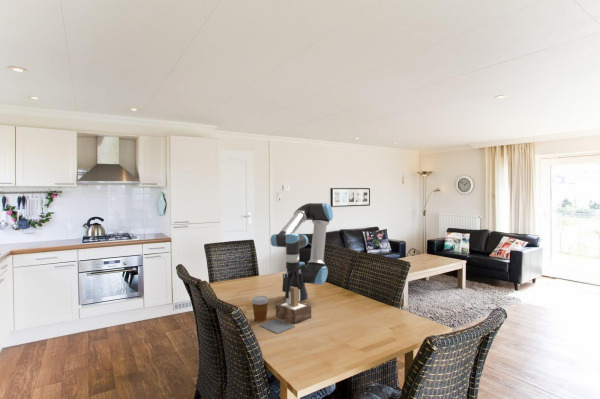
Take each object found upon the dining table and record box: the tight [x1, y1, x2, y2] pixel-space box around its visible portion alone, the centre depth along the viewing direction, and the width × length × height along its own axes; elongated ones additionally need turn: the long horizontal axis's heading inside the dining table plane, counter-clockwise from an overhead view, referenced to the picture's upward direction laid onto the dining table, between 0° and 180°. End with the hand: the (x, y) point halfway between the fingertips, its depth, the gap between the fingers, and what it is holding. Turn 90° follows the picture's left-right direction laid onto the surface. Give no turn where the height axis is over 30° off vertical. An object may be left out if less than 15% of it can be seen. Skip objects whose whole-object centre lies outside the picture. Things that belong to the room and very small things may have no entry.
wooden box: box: [275, 300, 312, 325], centre depth 186 cm, size 16×13×7 cm
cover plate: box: [281, 286, 306, 310], centre depth 186 cm, size 12×9×11 cm
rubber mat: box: [258, 318, 296, 335], centre depth 173 cm, size 15×12×1 cm
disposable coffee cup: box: [251, 295, 270, 323], centre depth 183 cm, size 10×10×12 cm
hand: (293, 302), depth 186 cm, fingers open, 7 cm apart
